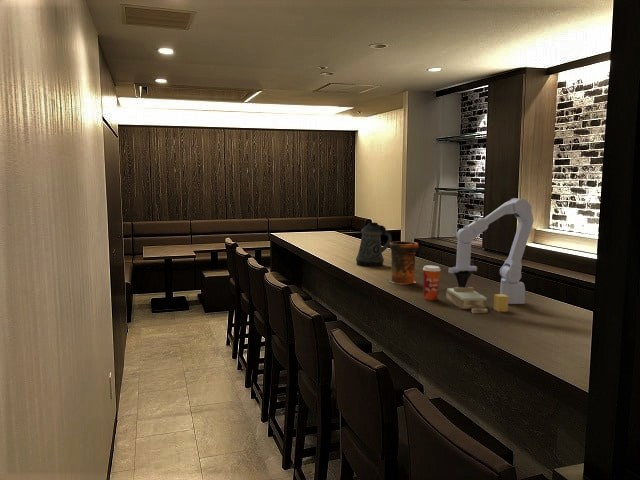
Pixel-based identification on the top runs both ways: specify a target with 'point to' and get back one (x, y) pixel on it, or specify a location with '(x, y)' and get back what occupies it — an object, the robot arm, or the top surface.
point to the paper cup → (431, 282)
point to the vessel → (403, 261)
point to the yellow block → (500, 302)
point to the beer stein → (372, 245)
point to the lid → (466, 293)
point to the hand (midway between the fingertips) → (461, 288)
